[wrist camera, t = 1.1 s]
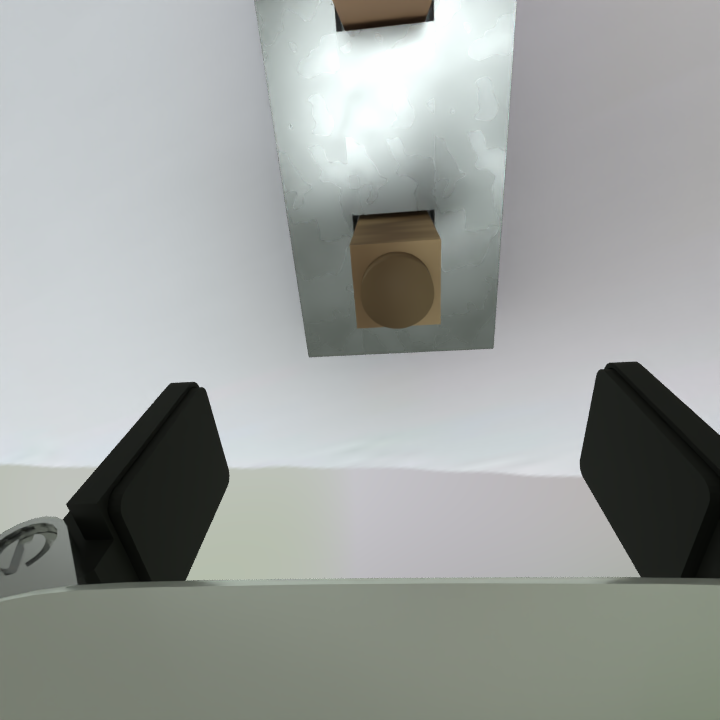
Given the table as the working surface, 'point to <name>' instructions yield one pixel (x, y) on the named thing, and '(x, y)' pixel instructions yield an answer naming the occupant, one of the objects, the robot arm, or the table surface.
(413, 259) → the walnut plug
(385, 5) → the terracotta plug
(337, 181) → the block
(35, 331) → the table surface
